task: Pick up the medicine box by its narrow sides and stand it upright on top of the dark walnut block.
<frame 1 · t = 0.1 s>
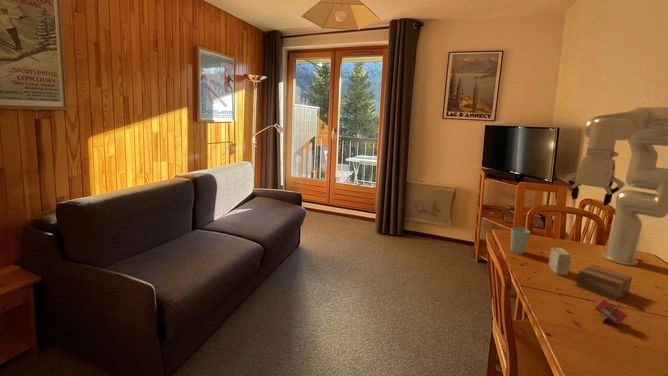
hand: (589, 201, 126), 31 cm above the table, tool pointing down, fingers open, 9 cm apart
medicine box: (557, 271, 141), on the table
cup: (517, 252, 161), on the table
geometric puzzle: (608, 322, 106), on the table
walnut block: (602, 289, 127), on the table
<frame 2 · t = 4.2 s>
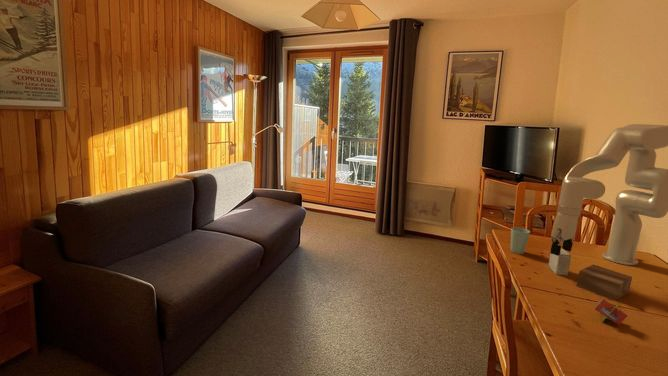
hand: (560, 252, 139), 8 cm above the table, tool pointing down, fingers open, 9 cm apart
medicine box: (557, 271, 141), on the table, touching gripper
everything else where it was.
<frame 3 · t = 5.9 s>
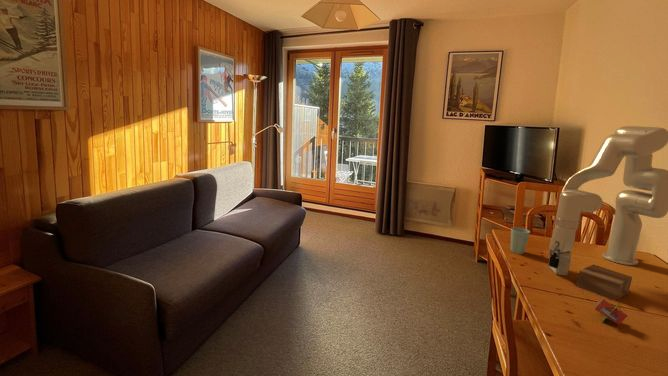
hand: (558, 264, 141), 3 cm above the table, tool pointing down, fingers closed on medicine box, 8 cm apart
medicine box: (557, 271, 141), on the table, touching gripper
everything else where it was.
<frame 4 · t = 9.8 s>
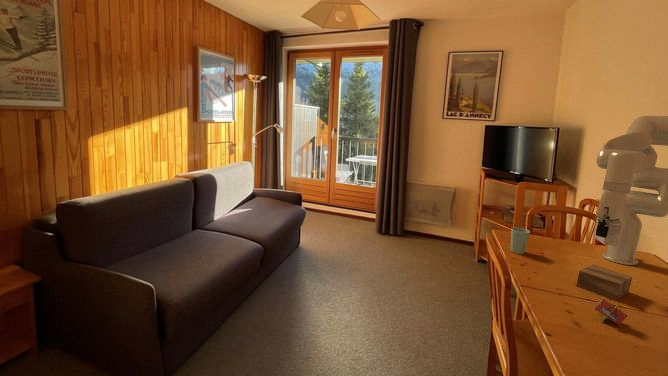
hand: (606, 234, 125), 20 cm above the table, tool pointing down, fingers closed on medicine box, 8 cm apart
medicine box: (604, 242, 126), point 17 cm above the table, touching gripper
everything else where it was.
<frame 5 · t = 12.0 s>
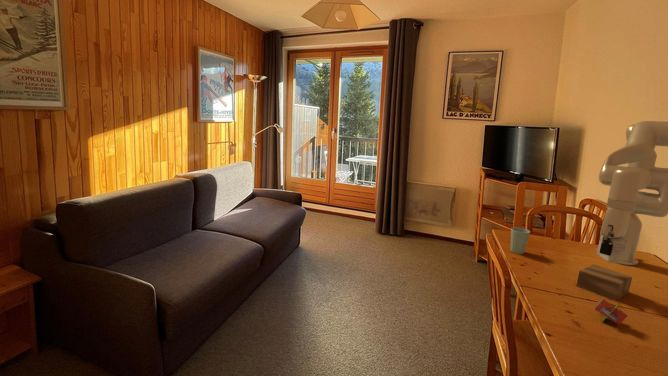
hand: (610, 252, 124), 14 cm above the table, tool pointing down, fingers closed on medicine box, 8 cm apart
medicine box: (608, 259, 125), point 11 cm above the table, touching gripper
everything else where it was.
when the fingers open (9 cm above the table, at t = 13.8 s): medicine box stays where it is, resting on walnut block.
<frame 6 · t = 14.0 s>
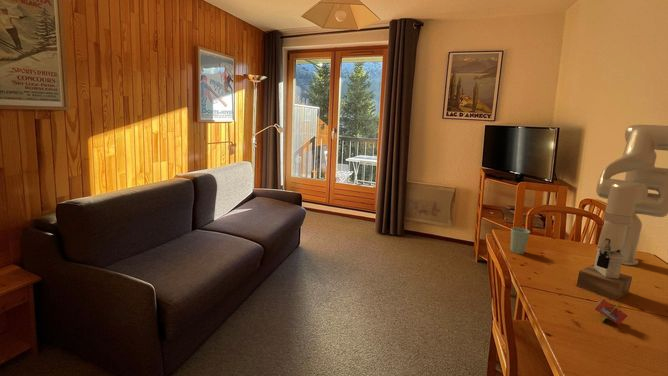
hand: (607, 264, 125), 10 cm above the table, tool pointing down, fingers open, 9 cm apart
medicine box: (605, 274, 126), point 6 cm above the table, touching walnut block
everything else where it was.
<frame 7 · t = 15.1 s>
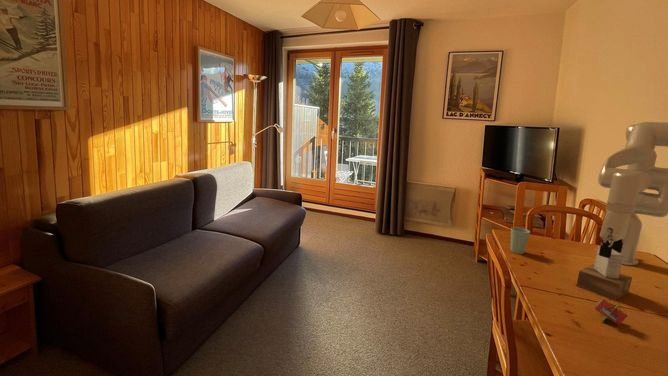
hand: (609, 254, 125), 13 cm above the table, tool pointing down, fingers open, 9 cm apart
medicine box: (605, 274, 126), point 6 cm above the table, touching gripper, walnut block
everything else where it was.
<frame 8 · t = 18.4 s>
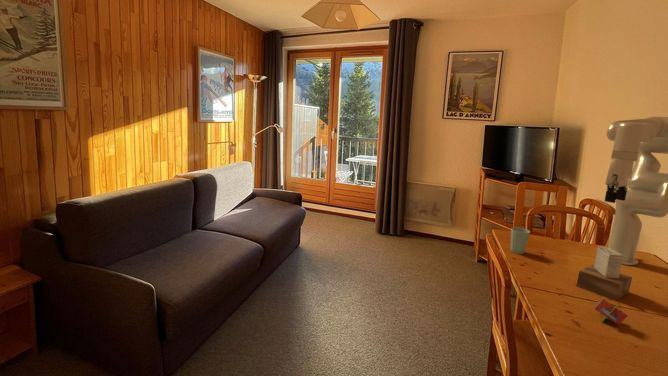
hand: (614, 200, 134), 30 cm above the table, tool pointing down, fingers open, 9 cm apart
medicine box: (605, 274, 126), point 6 cm above the table, touching walnut block
everything else where it was.
at the end: medicine box inside the target area on the walnut block (0.1 cm from its centre), point 5.8 cm above the walnut block's base; medicine box tilted 0°; the gripper is holding nothing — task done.
